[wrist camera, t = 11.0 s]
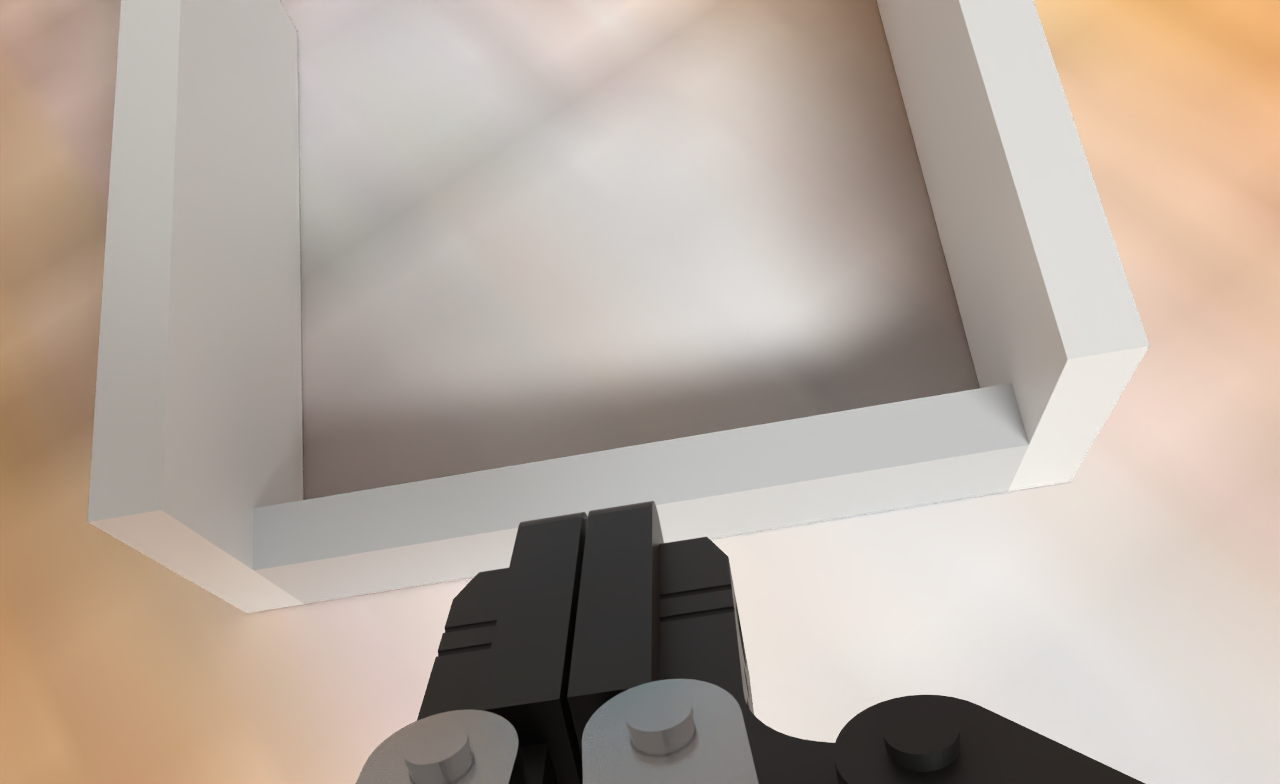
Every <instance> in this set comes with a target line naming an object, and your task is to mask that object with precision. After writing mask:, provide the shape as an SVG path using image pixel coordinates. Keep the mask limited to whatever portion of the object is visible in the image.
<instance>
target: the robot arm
mask: <svg viewBox="0 0 1280 784" xmlns="http://www.w3.org/2000/svg"><path fill="white" fill-rule="evenodd" d="M356 784H1145V783H1143V782H1141V781H1138V780H1136V779H1134V778H1132V777H1130V776H1128V775H1126V774H1124V773H1121V772H1119V771H1117V770H1115V769H1113V768H1111V767H1109V766H1106V765H1104V764H1102V763H1100V762H1098V761H1096V760H1094V759H1092V758H1089V757H1087V756H1085V755H1083V754H1081V753H1079V752H1077V751H1075V750H1072V749H1070V748H1068V747H1066V746H1064V745H1062V744H1060V743H1058V742H1055V741H1053V740H1051V739H1049V738H1047V737H1045V736H1043V735H1041V734H1038V733H1036V732H1034V731H1032V730H1030V729H1028V728H1026V727H1024V726H1021V725H1019V724H1017V723H1015V722H1013V721H1011V720H1009V719H1007V718H1004V717H1002V716H1000V715H998V714H996V713H994V712H992V711H990V710H987V709H985V708H983V707H981V706H979V705H976V704H974V703H971V702H968V701H965V700H961V699H958V698H954V697H947V696H940V695H914V696H905V697H900V698H894V699H891V700H887V701H884V702H881V703H878V704H876V705H874V706H871V707H869V708H867V709H866V710H864V711H862V712H861V713H859V714H857V715H856V716H855V717H854V718H853V719H851V720H850V721H849V722H848V723H847V724H846V725H845V727H844V728H843V729H842V730H841V732H840V734H839V736H838V738H837V739H836V743H828V742H817V741H810V740H803V739H799V738H795V737H791V736H788V735H785V734H782V733H780V732H777V731H775V730H773V729H772V728H770V727H768V726H766V725H765V724H764V723H762V722H761V721H760V720H758V719H757V718H756V717H755V715H754V711H753V703H752V695H751V687H750V678H749V672H748V666H747V660H746V655H745V649H744V643H743V638H742V632H741V626H740V621H739V615H738V609H737V603H736V598H735V592H734V586H733V581H732V575H731V569H730V564H729V558H728V556H727V555H726V554H725V553H724V552H722V551H721V550H720V549H719V548H718V547H717V546H716V545H715V544H714V543H713V542H712V541H711V540H710V539H709V538H708V537H701V538H694V539H688V540H682V541H675V542H669V543H664V541H663V536H662V530H661V525H660V520H659V516H658V512H657V508H656V505H655V502H654V501H649V502H642V503H636V504H630V505H623V506H617V507H611V508H604V509H598V510H592V511H589V514H588V516H587V514H586V513H585V512H580V513H574V514H568V515H561V516H555V517H549V518H542V519H536V520H530V521H524V522H520V524H519V526H518V531H517V535H516V539H515V544H514V548H513V553H512V557H511V561H510V566H509V568H503V569H496V570H490V571H484V572H479V573H478V574H477V575H476V576H475V577H474V578H473V579H472V580H471V581H470V582H469V583H468V584H467V586H466V587H465V588H464V589H463V590H462V591H461V592H460V593H459V594H458V595H457V596H456V597H455V598H454V599H453V602H452V605H451V609H450V612H449V615H448V619H447V622H446V625H445V633H443V635H442V639H441V642H440V645H439V649H438V657H436V659H435V662H434V665H433V669H432V672H431V675H430V679H429V682H428V685H427V689H426V692H425V696H424V699H423V702H422V706H421V709H420V712H419V716H418V719H417V721H416V722H414V723H411V724H409V725H407V726H405V727H404V728H402V729H400V730H399V731H397V732H395V733H394V734H393V735H391V736H390V737H388V738H387V739H386V740H385V741H383V742H382V743H381V744H380V745H379V746H378V747H377V748H376V749H375V750H374V752H373V753H372V754H371V755H370V756H369V758H368V760H367V761H366V763H365V765H364V767H363V769H362V771H361V773H360V776H359V778H358V780H357V782H356Z"/></svg>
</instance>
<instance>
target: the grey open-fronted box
mask: <svg viewBox="0 0 1280 784" xmlns="http://www.w3.org/2000/svg"><path fill="white" fill-rule="evenodd" d="M877 4H878V8H879V12H880V15H881V19H882V23H883V27H884V30H885V34H886V38H887V42H888V45H889V49H890V53H891V57H892V60H893V64H894V68H895V72H896V75H897V79H898V83H899V87H900V90H901V94H902V98H903V101H904V105H905V109H906V113H907V116H908V120H909V124H910V128H911V131H912V135H913V139H914V143H915V146H916V150H917V154H918V158H919V161H920V165H921V169H922V173H923V176H924V180H925V184H926V188H927V191H928V195H929V199H930V203H931V206H932V210H933V214H934V218H935V221H936V225H937V229H938V232H939V236H940V240H941V244H942V247H943V251H944V255H945V259H946V262H947V266H948V270H949V274H950V277H951V281H952V285H953V289H954V292H955V296H956V300H957V304H958V307H959V311H960V315H961V319H962V322H963V326H964V330H965V334H966V337H967V341H968V345H969V348H970V352H971V356H972V360H973V363H974V367H975V371H976V375H977V378H978V382H979V386H980V388H978V389H972V390H966V391H960V392H954V393H948V394H942V395H936V396H930V397H924V398H918V399H912V400H906V401H900V402H894V403H888V404H882V405H875V406H869V407H863V408H857V409H851V410H845V411H839V412H833V413H827V414H821V415H815V416H809V417H803V418H797V419H791V420H785V421H779V422H773V423H767V424H760V425H754V426H748V427H742V428H736V429H730V430H724V431H718V432H712V433H706V434H700V435H694V436H688V437H682V438H676V439H670V440H664V441H658V442H652V443H645V444H639V445H633V446H627V447H621V448H615V449H609V450H603V451H597V452H591V453H585V454H579V455H573V456H567V457H561V458H555V459H549V460H543V461H537V462H530V463H524V464H518V465H512V466H506V467H500V468H494V469H488V470H482V471H476V472H470V473H464V474H458V475H452V476H446V477H440V478H434V479H428V480H422V481H415V482H409V483H403V484H397V485H391V486H385V487H379V488H373V489H367V490H361V491H355V492H349V493H343V494H337V495H331V496H325V497H319V498H313V499H307V500H303V428H302V349H301V269H300V189H299V110H298V31H297V29H296V27H295V25H294V23H293V22H292V20H291V18H290V16H289V15H288V13H287V11H286V9H285V8H284V6H283V4H282V2H281V0H121V9H120V24H119V40H118V55H117V71H116V86H115V102H114V117H113V132H112V148H111V163H110V179H109V194H108V210H107V225H106V240H105V256H104V271H103V287H102V302H101V318H100V333H99V348H98V364H97V379H96V395H95V410H94V426H93V441H92V456H91V472H90V487H89V503H88V518H87V522H88V523H90V524H91V525H93V526H95V527H97V528H98V529H100V530H102V531H104V532H105V533H107V534H109V535H110V536H112V537H114V538H116V539H117V540H119V541H121V542H123V543H124V544H126V545H128V546H130V547H131V548H133V549H135V550H137V551H138V552H140V553H142V554H144V555H145V556H147V557H149V558H151V559H152V560H154V561H156V562H158V563H159V564H161V565H163V566H165V567H166V568H168V569H170V570H172V571H173V572H175V573H177V574H179V575H180V576H182V577H184V578H186V579H187V580H189V581H191V582H193V583H194V584H196V585H198V586H200V587H201V588H203V589H205V590H207V591H208V592H210V593H212V594H214V595H215V596H217V597H219V598H221V599H222V600H224V601H226V602H228V603H229V604H231V605H233V606H235V607H236V608H238V609H240V610H242V611H243V612H245V613H253V612H259V611H265V610H271V609H278V608H284V607H290V606H296V605H303V604H309V603H315V602H321V601H328V600H334V599H340V598H346V597H353V596H359V595H365V594H371V593H378V592H384V591H390V590H396V589H403V588H409V587H415V586H421V585H428V584H434V583H440V582H446V581H453V580H459V579H465V578H471V577H475V576H476V575H477V574H478V573H479V572H484V571H490V570H496V569H503V568H509V566H510V561H511V557H512V553H513V548H514V544H515V539H516V535H517V531H518V526H519V524H520V522H524V521H530V520H536V519H542V518H549V517H555V516H561V515H568V514H574V513H580V512H585V513H586V514H587V516H588V514H589V511H592V510H598V509H604V508H611V507H617V506H623V505H630V504H636V503H642V502H649V501H654V502H655V505H656V508H657V512H658V516H659V520H660V525H661V530H662V536H663V541H664V543H669V542H675V541H682V540H688V539H694V538H701V537H708V538H709V539H715V538H722V537H728V536H734V535H740V534H747V533H753V532H759V531H766V530H772V529H778V528H784V527H791V526H797V525H803V524H809V523H816V522H822V521H828V520H834V519H841V518H847V517H853V516H859V515H866V514H872V513H878V512H884V511H891V510H897V509H903V508H909V507H916V506H922V505H928V504H934V503H941V502H947V501H953V500H959V499H966V498H972V497H978V496H984V495H991V494H997V493H1003V492H1010V491H1016V490H1022V489H1028V488H1035V487H1041V486H1047V485H1053V484H1060V483H1066V482H1071V480H1072V478H1073V476H1074V475H1075V473H1076V471H1077V470H1078V468H1079V466H1080V464H1081V463H1082V461H1083V459H1084V458H1085V456H1086V454H1087V452H1088V451H1089V449H1090V447H1091V446H1092V444H1093V442H1094V440H1095V439H1096V437H1097V435H1098V434H1099V432H1100V430H1101V428H1102V427H1103V425H1104V423H1105V421H1106V420H1107V418H1108V416H1109V415H1110V413H1111V411H1112V409H1113V408H1114V406H1115V404H1116V403H1117V401H1118V399H1119V397H1120V396H1121V394H1122V392H1123V391H1124V389H1125V387H1126V385H1127V384H1128V382H1129V380H1130V379H1131V377H1132V375H1133V373H1134V372H1135V370H1136V368H1137V367H1138V365H1139V363H1140V361H1141V360H1142V358H1143V356H1144V354H1145V353H1146V351H1147V349H1148V348H1149V343H1148V340H1147V337H1146V334H1145V331H1144V328H1143V325H1142V322H1141V319H1140V316H1139V313H1138V310H1137V307H1136V304H1135V301H1134V298H1133V295H1132V293H1131V290H1130V287H1129V284H1128V281H1127V278H1126V275H1125V272H1124V269H1123V266H1122V263H1121V260H1120V257H1119V254H1118V251H1117V248H1116V245H1115V242H1114V239H1113V236H1112V233H1111V230H1110V227H1109V224H1108V221H1107V218H1106V215H1105V212H1104V209H1103V206H1102V203H1101V200H1100V197H1099V194H1098V191H1097V188H1096V185H1095V182H1094V179H1093V176H1092V174H1091V171H1090V168H1089V165H1088V162H1087V159H1086V156H1085V153H1084V150H1083V147H1082V144H1081V141H1080V138H1079V135H1078V132H1077V129H1076V126H1075V123H1074V120H1073V117H1072V114H1071V111H1070V108H1069V105H1068V102H1067V99H1066V96H1065V93H1064V90H1063V87H1062V84H1061V81H1060V78H1059V75H1058V72H1057V69H1056V66H1055V63H1054V60H1053V57H1052V55H1051V52H1050V49H1049V46H1048V43H1047V40H1046V37H1045V34H1044V31H1043V28H1042V25H1041V22H1040V19H1039V16H1038V13H1037V10H1036V7H1035V4H1034V1H1033V0H877Z"/></svg>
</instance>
